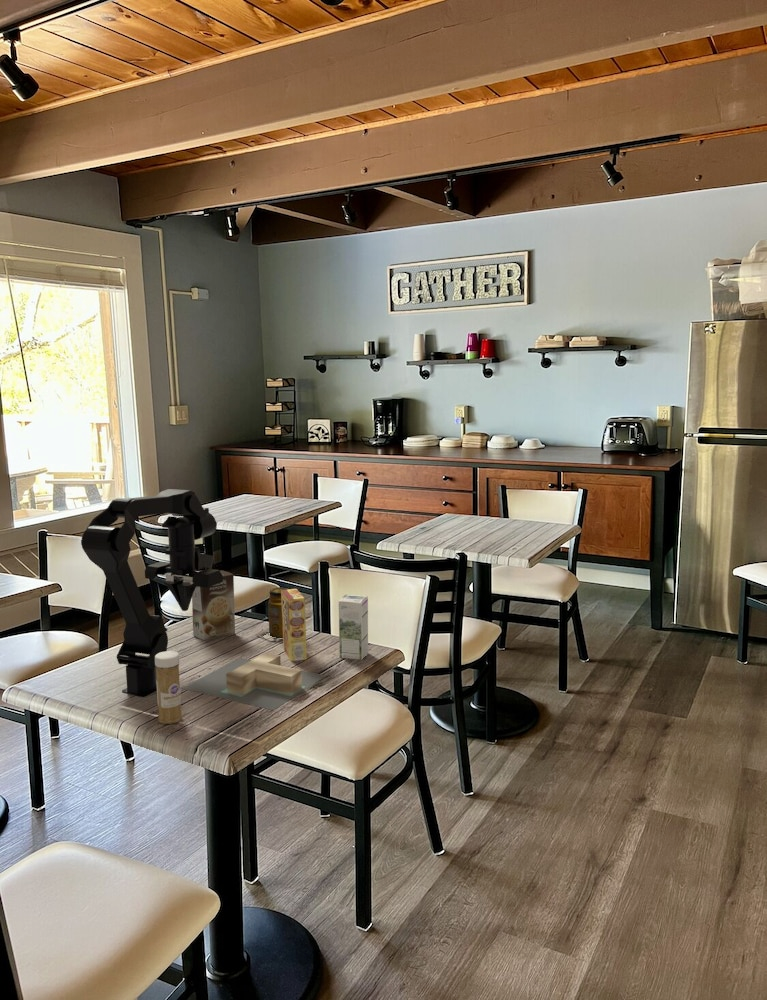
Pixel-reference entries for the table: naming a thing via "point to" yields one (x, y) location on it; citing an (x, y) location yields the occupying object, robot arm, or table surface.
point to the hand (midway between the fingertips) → (185, 610)
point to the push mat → (256, 697)
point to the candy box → (294, 624)
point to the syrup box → (353, 626)
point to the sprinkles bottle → (168, 687)
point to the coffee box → (214, 609)
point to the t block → (264, 676)
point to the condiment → (275, 614)
